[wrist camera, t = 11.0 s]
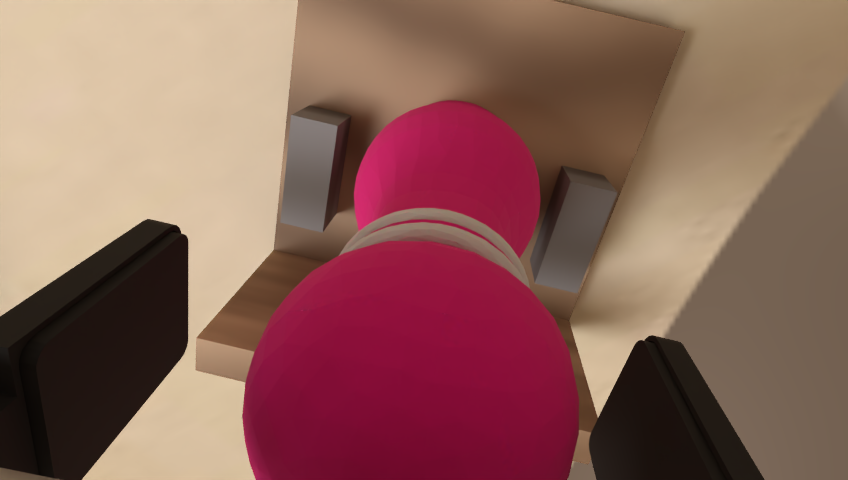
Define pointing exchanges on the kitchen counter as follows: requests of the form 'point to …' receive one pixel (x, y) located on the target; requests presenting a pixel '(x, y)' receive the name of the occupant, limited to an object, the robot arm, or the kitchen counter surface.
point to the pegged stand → (459, 81)
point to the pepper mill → (421, 324)
